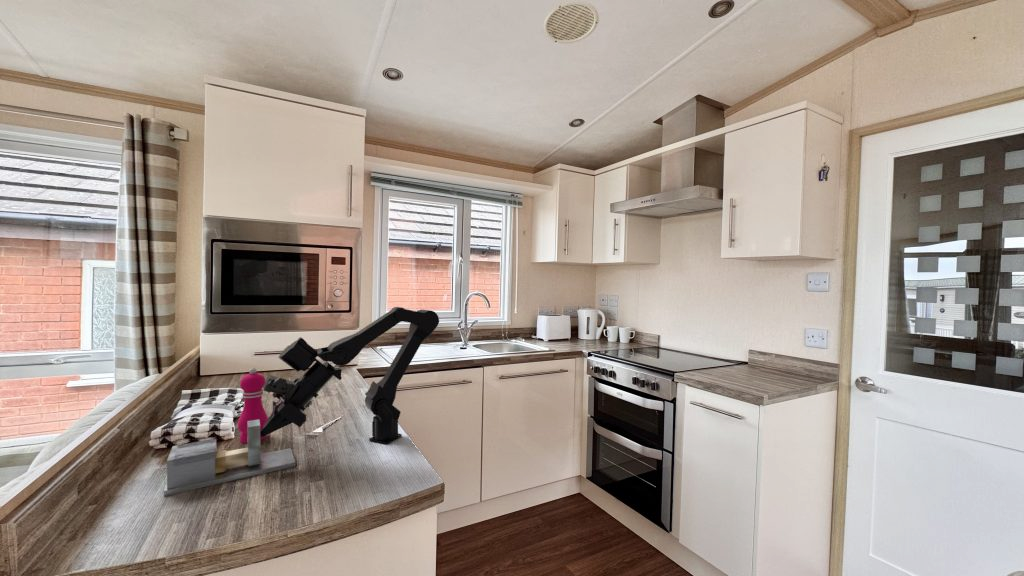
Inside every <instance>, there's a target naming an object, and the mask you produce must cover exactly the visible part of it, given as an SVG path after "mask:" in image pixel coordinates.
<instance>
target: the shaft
mask: <svg viewBox="0 0 1024 576" xmlns="http://www.w3.org/2000/svg"><path fill="white" fill-rule="evenodd" d="M247 428H248V443H247V447H243V448H238V449H232V450H226V449H223V450H217V451H216V454H215V467H216V473H220V472H225V470H226V469H229V468H234V467H239V466H244V465H248V466H251V465H256V464H260V454H261V440H260V421H259V419H258V420H252V421H247Z"/></svg>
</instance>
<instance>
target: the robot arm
mask: <svg viewBox="0 0 1024 576" xmlns="http://www.w3.org/2000/svg"><path fill="white" fill-rule="evenodd" d="M402 322H403V323H408V324H409V329H408V333H407V336H406V337H405V340H404V341H403V343H402V345H401V346H400V348H399V350H398V352H397V354H396V355H395V357H394V359H393V360H392V361H391V364H390V365H389V368H388V369H387V371H386V372H385V374H384V375H383V377H382V379H381V380H379V381H378V382H375V381H374V380H373V381H371V384H370V387H369V388H368V390H367V391H366V392H365V393H364V395H366V396H365V398H364V403H365V406H366V408H367V409H368V410H369V411H370V412H371V413H372V414H373V415H374V416H373V417H372V422H371V425H372V427H371V429H372V430H371V431H372V433H371V434H372V437H369V439H368V441H370V442H375V443H379V444H380V443H381V444H385V445H388V444H390V443H392V442H394V441H396V440H397V439H399V438H401V437H402V436H403V435H402V433H399V418H400V416H401V410H399V409H398V408H397V407H396V406H394V402H395V400H396V396H397V390H398V386H399V383H400V382H401V380H402V378H403V376H404V375H405V373H406V371H407V369H408V368H409V366H410V364H411V363H412V360H413V359H414V357H415V356H416V354H417V352H418V350H419V349H420V347H421V344H422V343H423V342H424V341H425V340H427V338H428V337H430V335H432V334H433V332H434V331H435V330H436V329H437V327H438V326H439V323H440V317H439V315H438V313H436V312H435V311H433V310H429V309H419V310H411V309H406V308H404V307H401V306H400V307H399V306H394V307H392V308H391V309H390V310H389V311H388V312H386V313H384V314H383V315H381V316H380V317H378V318H377V319H375V320H374V321H373V322H371V323H369V324H368V325H366V326H365V327H363V328H362V329H360V330H359V331H357V332H355V333H353V334H350V335H347V336H344V337H342V338H340V339H338V340H335V341H333V342H330V343H329V344H328V346H326V347H321V348H316V349H315V348H313V347H312V346H311V345H310V344H309V343H308V342H307V341H306V340H305V339H304V338H303V337H301V336H300V337H298V338H297V340H295V341H293V342H292V343H290V345H287V346H286V347H285V348H284V350H282V351H281V353H280V354H279V356H278V359H279V360H280V361H282V362H283V363H285V364H286V365H288V366H289V367H290V368H291V369H292V370H294V371H296V372H297V373H298V372H300V371H302V372H304V373H303V374H302V375H301V376H300V377H296V378H294V379H293V380H292V381H291V380H289V379H286V378H282V377H281V376H275V375H272V374H269V375H268V376H267V378H266V379H265V384H264V386H263V388H262V389H263V392H266V393H272V397H273V399H274V398H275V399H276V398H277V399H278V400H277V401H276V402H275V401H272V412H271V413H270V415H269V417H268V420H267V422H266V423H265V425H264V427H263V428H262V430H261V431H260V436H262V437H264V436H266V437H267V436H268V435H271V433H273V432H276V431H278V430H280V429H282V428H284V427H287V426H288V425H291V424H292V423H293V424H294V425H295V426H297V427H298V428H301V427H302V426H303V425H304V424H305V422H307V413H306V412H305V410H306V409H307V408H306V406H307V405H308V404H309V403H310V402H311V400H313V398H315V399H316V398H317V397H318V396H319V394H318V393H319V392H320V391H321V390H322V389H323V387H325V385H326V384H328V382H330V380H331V379H332V378H333V377H334V378H336V379H337V380H338V381H341V380H342V379H343V377H342V371H343V370H342V368H340V367H342V366H346V365H348V364H350V363H351V362H352V361H353V360H354V359H355V358H356V357H358V355H359V354H360V353H361V351H362V350H363V349H364V348H365V347H366V346H367V345H370V343H371V342H373V341H374V340H376V339H377V338H379V337H380V336H382V335H384V334H385V333H386V332H388V331H389V330H391V329H392V328H394V327H395V326H397V325H398V324H399V323H402ZM317 357H318V358H320V359H321V361H324V363H322V362H321V361H320V360H319V359H317ZM330 362H331V363H333V364H334V365H336V366H339V367H337V368H336V367H334V366H333V365H332V364H331V363H330Z"/></svg>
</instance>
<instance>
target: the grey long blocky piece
mask: <svg viewBox="0 0 1024 576" xmlns="http://www.w3.org/2000/svg"><path fill="white" fill-rule="evenodd" d="M217 448H218V447H217V438H210V439H205V440H200V441H199V440H198V441H193V442H190V443H184V444H179V445H178V444H177V445H173V446H172V447H171V450H170V452H169V454H168V457H167V460H166V484H165V486H164V490H163V496H164V497H166V496H170V495H175V494H179V493H184V492H189V491H193V490H196V489H197V490H198V489H201V488H205V487H210V486H214V485H218V484H223V483H227V482H231V481H237V480H241V479H245V478H246V479H247V478H249V477H254V476H259V475H263V474H268V473H273V472H275V471H276V472H277V471H281V470H285V469H289V468H293V467H294V468H295V467H296V463H297V462H296V460H295V456H294V454H293V450H292V448H291V447H289V448H285V449H279V450H273V451H270V452H264V453H260V464H256V465H251V466H248V465H244V466H239V467H234V468H229V469H226V470H225V472H220V473H216V467H215V454H216V451H218V450H217Z"/></svg>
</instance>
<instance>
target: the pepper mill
mask: <svg viewBox="0 0 1024 576" xmlns="http://www.w3.org/2000/svg"><path fill="white" fill-rule="evenodd" d="M265 382H266V377H265V376H264V375H263V374H261V373H258V372H257V368H255V367H251V368H250V369H249V370H248V374H245V375H244V376H242V377H241V380H240V382H239V387H240V388H241V390H243V391H242V396H241V397H242V398H243V401H244V403H243V409H242V411H241V414H240V416H239V418H238V421H237V429H238V431H240V432H241V433H240V434H239V442H240V443H243V444H248V428H247V421H252V420H258V419H259V421H260V431H261V430H262V428H263V427H264V425H265V423H266V422H267V420H268V418H269V417H268V415H267V414H268V413H266V410H265V409H264V406H263V400H262V398H263V395H264V390H263V389H264V388H263V386H264V384H265ZM266 438H267V435H266V436H264V437H262V436H260V441H263V440H265V439H266Z"/></svg>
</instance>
